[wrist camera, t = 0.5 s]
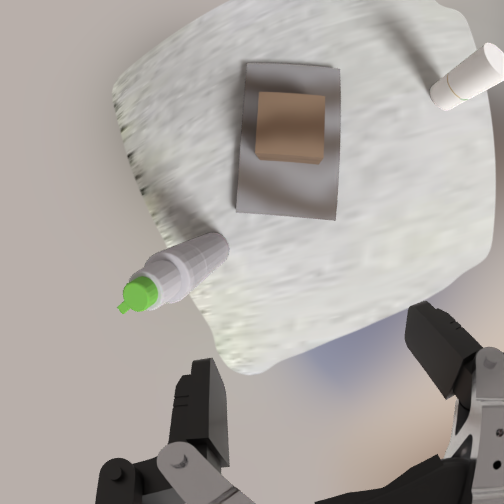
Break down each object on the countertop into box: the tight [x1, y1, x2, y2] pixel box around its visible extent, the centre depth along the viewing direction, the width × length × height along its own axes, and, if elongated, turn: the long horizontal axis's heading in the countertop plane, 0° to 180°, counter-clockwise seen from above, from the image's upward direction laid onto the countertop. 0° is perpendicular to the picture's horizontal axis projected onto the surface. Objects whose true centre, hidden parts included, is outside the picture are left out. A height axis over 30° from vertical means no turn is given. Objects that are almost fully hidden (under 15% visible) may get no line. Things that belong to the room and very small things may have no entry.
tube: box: [430, 43, 504, 111], centre depth 21 cm, size 4×4×15 cm
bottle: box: [117, 233, 229, 314], centre depth 27 cm, size 4×4×20 cm
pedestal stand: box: [236, 63, 341, 221], centre depth 30 cm, size 20×12×6 cm, turn 176°
